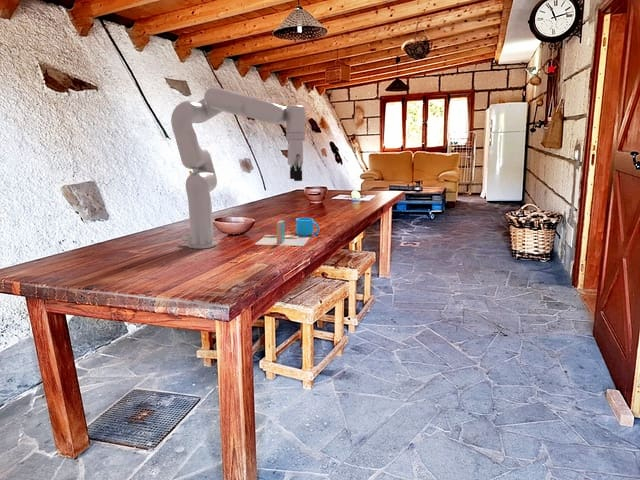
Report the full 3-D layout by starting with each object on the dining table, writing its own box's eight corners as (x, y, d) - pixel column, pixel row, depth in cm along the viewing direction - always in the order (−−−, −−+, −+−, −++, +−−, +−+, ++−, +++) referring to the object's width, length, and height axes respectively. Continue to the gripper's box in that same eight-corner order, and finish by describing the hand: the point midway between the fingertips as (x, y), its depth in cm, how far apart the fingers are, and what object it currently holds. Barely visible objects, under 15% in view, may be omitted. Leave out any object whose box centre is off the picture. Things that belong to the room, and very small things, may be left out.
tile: (276, 243, 201) (276, 222, 199) (280, 240, 208) (280, 220, 206) (281, 243, 201) (281, 223, 199) (284, 240, 208) (284, 220, 206)
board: (254, 246, 200) (254, 244, 200) (265, 238, 218) (265, 235, 217) (303, 248, 197) (303, 245, 197) (310, 239, 215) (310, 237, 214)
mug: (292, 236, 221) (292, 219, 219) (302, 233, 228) (301, 217, 226) (314, 239, 215) (314, 221, 214) (323, 236, 222) (323, 219, 221)
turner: (262, 237, 213) (262, 236, 212) (265, 235, 217) (265, 234, 217) (297, 238, 210) (297, 237, 210) (299, 236, 215) (299, 235, 215)
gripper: (283, 137, 196) (283, 178, 200) (290, 137, 179) (290, 181, 183) (300, 137, 198) (301, 178, 201) (309, 137, 181) (309, 181, 185)
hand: (295, 179), depth 192 cm, fingers open, 9 cm apart
